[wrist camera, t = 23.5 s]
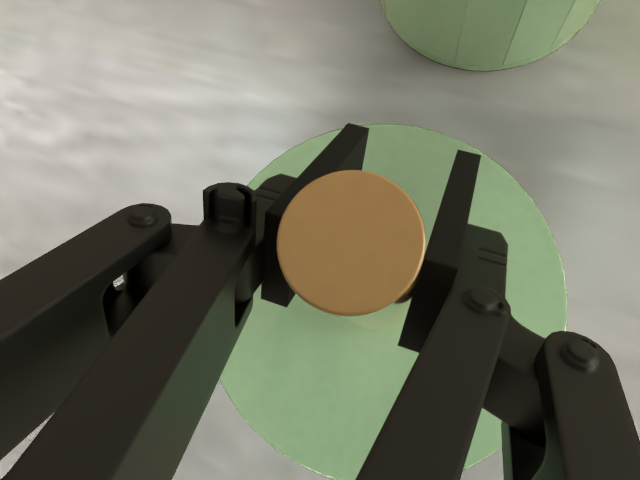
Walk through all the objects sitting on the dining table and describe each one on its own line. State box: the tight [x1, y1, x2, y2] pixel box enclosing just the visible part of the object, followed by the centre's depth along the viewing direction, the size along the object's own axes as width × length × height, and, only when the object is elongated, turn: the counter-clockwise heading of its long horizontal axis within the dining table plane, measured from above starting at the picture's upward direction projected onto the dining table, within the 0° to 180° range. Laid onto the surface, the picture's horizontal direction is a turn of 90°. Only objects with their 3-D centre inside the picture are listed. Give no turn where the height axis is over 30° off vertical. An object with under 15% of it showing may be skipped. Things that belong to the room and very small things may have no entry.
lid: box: [219, 124, 567, 480], centre depth 14 cm, size 14×14×10 cm
